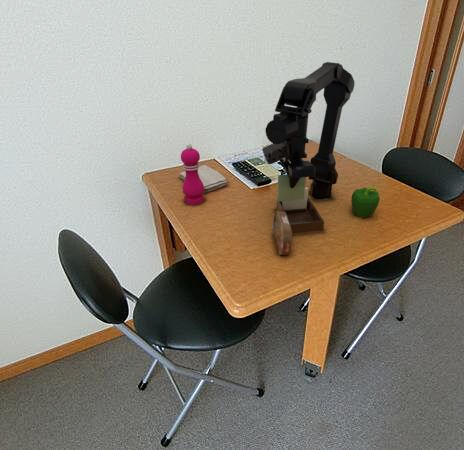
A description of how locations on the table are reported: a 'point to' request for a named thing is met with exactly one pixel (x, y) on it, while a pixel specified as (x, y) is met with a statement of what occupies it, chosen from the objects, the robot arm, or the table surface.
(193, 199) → the pepper mill
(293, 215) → the coaster holder
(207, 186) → the washcloth
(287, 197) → the sage coaster
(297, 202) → the cream coaster
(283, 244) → the tin
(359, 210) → the bell pepper
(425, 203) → the table surface
